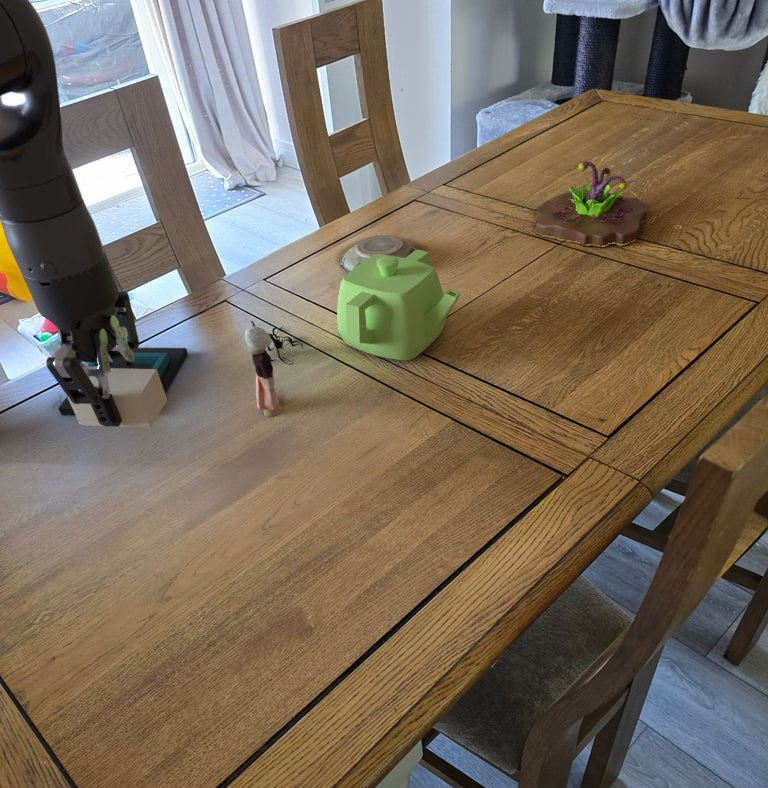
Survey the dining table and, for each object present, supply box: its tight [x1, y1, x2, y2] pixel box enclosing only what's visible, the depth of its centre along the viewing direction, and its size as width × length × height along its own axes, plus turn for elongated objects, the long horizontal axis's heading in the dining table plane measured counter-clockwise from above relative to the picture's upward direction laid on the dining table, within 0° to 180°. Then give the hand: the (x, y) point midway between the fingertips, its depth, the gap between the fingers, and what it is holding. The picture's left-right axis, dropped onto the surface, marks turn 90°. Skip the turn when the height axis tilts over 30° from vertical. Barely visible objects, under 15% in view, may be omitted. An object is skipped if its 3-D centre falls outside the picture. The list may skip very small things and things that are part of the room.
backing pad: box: [57, 347, 189, 416], centre depth 104 cm, size 14×16×3 cm
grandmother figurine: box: [244, 325, 284, 418], centre depth 93 cm, size 8×4×13 cm, turn 27°
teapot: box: [336, 249, 461, 361], centre depth 102 cm, size 18×20×13 cm
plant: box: [534, 160, 649, 246], centre depth 128 cm, size 20×20×11 cm
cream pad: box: [66, 368, 168, 429], centre depth 74 cm, size 8×5×4 cm, turn 83°
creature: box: [250, 320, 304, 366], centre depth 106 cm, size 8×5×8 cm
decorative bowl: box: [340, 234, 417, 273], centre depth 125 cm, size 15×4×15 cm
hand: (122, 407), depth 75 cm, fingers closed on cream pad, 5 cm apart
